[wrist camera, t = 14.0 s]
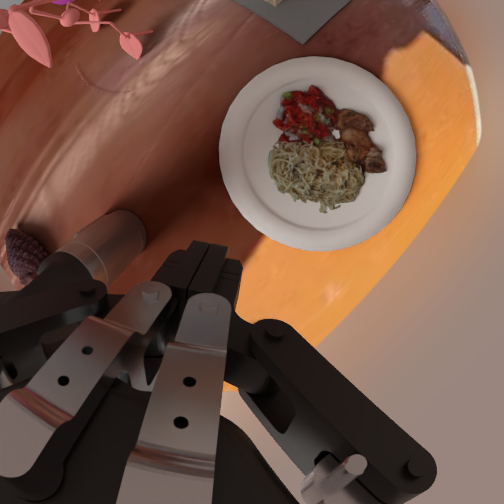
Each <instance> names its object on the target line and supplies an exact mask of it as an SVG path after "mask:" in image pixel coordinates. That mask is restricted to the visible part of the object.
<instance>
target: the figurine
mask: <svg viewBox="0 0 504 504" xmlns="http://www.w3.org/2000/svg"><path fill="white" fill-rule="evenodd" d="M53 1H58V0H33V1H32V2H28V3H24V4H21V5H12V6H11V7H10V8H9V10H5V9H0V30H1V31H5V32H9V33H12V34H13V36H14V38H15V39H16V41H17V42H18V44H19V45H20V47H21V48H22V49H23V50H24V51H25V52H26V53H27V54H28V55H29V56H30V57H32V58H34V59H35V60H37V61H38V62H40V63H42V64H43V65H45V66H47V67H49V68H51V67H52V56H51V51H50V45H49V43H48V41H47V38H46V36H45V34H44V32H43V30H42V29H41V28H40V26H39V25H38V24H37V22H36V21H35V20H34V19H33V18H32V17H30V16H29V15H28V14H27V13H25V12H24V11H23V10H22V9H26V8H29V7H30V10H29V12H31V14H36V15H41V16H47V17H52V18H56V19H60V23H61V24H62V25H63V26H65V27H70V26H72V25H74V24H90V25H91V28H92V32H96V31H99V29H100V25H101V24H110V25H111V26H113V27H114V28H115V29H116V30H117V31H118V32H119V33H120V34H121V35H120V44H121V47H122V48H123V49H124V50H125V52H127V53H128V54H129V55H131V56H132V57H134V58H135V59H137V60H138V58H139V57H140V55H141V53H142V51H143V46H142V43H141V41H140V40H139V39H138V38H137V37H136V36H139V35H144V34H149V33H153V32H154V31H153V30H149V31H144V32H138V33H131V32H128V31H127V32H125V31H124V32H122V31H121V30H120V29H119V28H118V27H117V26H116V25H115V24H114V23H113V22H106V21H100V16H99V15H101V14H107V13H113V12H119V11H121V10H122V9H115V10H108V11H103V12H98V11H97V10H96V9H92V10H91V11H88V10H86V9H84V8H82V7H80V6H78V5H76V4H74V3H72V2H69V1H68V3H67V7H66V11H65V12H63V14H62V15H61V16H57V15H54V14H50V13H46V12H42V11H38V10H34V6H36V5H40V4H44V3H49V2H53ZM99 1H100V0H99ZM69 4H70V5H72V6H74V7H76V8H79V9H81V10H83V11H85V12H87V13H89V20H90V21H78V20H79V17H80V13H79V11H78V10H77V9H73V8H71V9H69ZM77 21H78V22H77ZM76 67H77V66H76ZM77 70H78V69H77ZM78 73H79V72H78ZM80 76H81V75H80ZM81 78H82V77H81ZM85 83H86V82H85ZM86 84H87V83H86ZM87 85H88V84H87ZM85 87H86V86H85ZM90 87H91V86H90ZM95 90H96V89H95ZM97 91H98V90H97ZM128 92H129V91H128ZM124 93H125V92H124Z"/></svg>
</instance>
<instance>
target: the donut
mask: <svg viewBox="0 0 504 504" xmlns="http://www.w3.org/2000/svg"><path fill="white" fill-rule="evenodd" d="M68 1H69V2H73V1H75V0H58V1H53V2H52V3H55V4H60V5H63V4H67V3H68Z"/></svg>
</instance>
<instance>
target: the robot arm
mask: <svg viewBox="0 0 504 504" xmlns="http://www.w3.org/2000/svg"><path fill="white" fill-rule="evenodd" d="M146 240H147V236H146V231H145V227H144V225H143V223H142V222H141V220H140V219H139V218H138V217H137V216H136V215H135V214H133V213H132V212H130V211H127V210H116V211H113V212H111V213H110V214H108V215H105V214H104V215H102V216H101V217H99V218H98V219H96V220H95V221H93V222H92V223H90V224H89V225H87V226H86V227H84V228H83V229H81V230H80V231H78V232H77V233H75V235H74V238H73V239H71V240H70V241H69V242H67V243H66V244H65V245H63V246H62V247H61V248H59V249H58V250H56V251H55V252H54V253H52V254H51V255H50V256H48V257H47V258H46V259H45V260H44V261H43V262H42V263H41V264H40V266H39V268H38V273H37V277H35V278H34V279H33V280H32V281H31V282H30V283H29V284H28V285H26V286H25V287H24V288H23V289H21V290H20V291H8V292H0V504H299V502H298V501H297V500H296V499H295V498H294V496H293V495H292V494H291V493H290V491H288V489H287V488H286V486H285V485H284V484H283V483H282V481H281V480H280V479H279V477H278V476H277V475H276V474H275V472H274V471H273V470H272V468H271V467H270V466H269V464H268V463H267V462H266V460H265V459H264V457H263V456H262V455H261V453H260V452H259V450H258V449H257V448H256V446H255V445H254V443H253V442H252V441H251V439H250V438H249V437H248V436H247V435H246V433H245V432H244V431H243V430H242V429H240V428H239V427H238V426H237V425H235V424H234V423H233V422H231V421H230V420H228V419H227V418H225V417H223V416H221V415H220V408H221V398H222V390H223V381H225V382H227V383H229V384H232V385H234V386H236V387H238V391H239V394H240V396H241V397H242V399H243V400H244V401H245V402H246V404H247V405H248V407H249V408H250V409H251V411H252V412H253V413H254V415H255V416H256V417H257V418H258V420H259V421H260V422H261V424H262V425H263V426H264V427H265V428H266V430H267V431H268V432H269V433H270V435H271V436H272V437H273V438H274V440H275V441H276V442H277V443H278V445H279V446H280V447H281V448H282V449H283V451H284V452H285V453H286V454H287V455H288V457H289V458H290V459H291V460H292V461H293V462H294V464H295V465H296V466H297V467H298V468H299V469H300V470H301V471H302V473H303V474H304V475H305V477H304V479H303V481H302V483H301V495H302V498H303V499H304V501H305V502H306V504H403V503H405V502H407V501H409V500H411V499H412V498H414V497H416V496H418V495H419V494H421V493H423V492H424V491H426V490H427V489H429V488H430V487H431V486H432V484H433V483H434V481H435V478H436V475H437V467H436V463H435V460H434V458H433V457H432V455H431V454H430V453H429V452H428V451H427V450H425V449H424V448H423V447H422V446H421V445H420V444H419V443H417V442H416V441H415V440H414V439H413V438H412V437H410V436H409V435H408V434H407V433H406V432H405V431H404V430H403V429H402V428H400V427H399V426H398V425H397V424H396V423H395V422H394V421H393V420H391V419H390V418H389V417H388V416H387V415H386V414H385V413H384V412H382V411H381V410H380V409H379V408H378V407H377V406H376V405H375V404H374V403H373V402H372V401H370V400H369V399H368V398H367V397H366V396H365V395H364V394H363V393H362V392H361V391H359V390H358V389H357V388H356V387H355V386H354V385H353V384H352V383H351V382H350V381H349V380H348V379H347V378H345V377H344V376H343V375H342V374H341V373H340V372H339V371H338V370H337V369H336V368H335V367H334V366H332V364H330V363H329V362H328V361H327V360H326V359H325V358H324V357H323V356H322V355H321V354H320V353H319V352H318V351H317V350H316V349H315V348H314V347H313V346H311V345H310V344H309V343H308V342H307V341H306V340H305V339H304V338H303V337H302V336H301V335H300V334H299V333H298V332H297V331H296V330H295V329H294V328H293V327H291V326H290V325H289V324H287V323H285V322H283V321H280V320H276V319H263V320H260V321H258V322H256V323H255V324H254V325H253V324H251V323H248V322H246V321H245V320H243V319H241V318H240V317H239V316H238V315H237V314H236V312H235V309H236V304H237V300H238V295H239V289H240V282H241V276H242V270H243V267H242V265H241V263H240V261H239V260H234V259H228V256H229V247H228V246H222V245H217V244H211V243H206V242H200V241H195V240H193V242H192V243H191V244H190V246H189V247H188V249H187V250H180V249H179V250H177V251H175V252H173V253H171V254H170V255H169V256H168V258H167V259H166V261H165V262H164V263H163V264H162V267H160V268H159V270H158V271H157V272H156V274H155V275H154V276H153V278H152V279H151V281H145V282H141V283H138V284H136V285H135V286H133V287H132V288H131V289H130V290H129V292H128V293H127V294H126V295H118V294H108V292H107V289H108V288H109V287H110V286H111V285H112V283H113V282H114V281H115V280H116V279H117V278H118V277H119V276H120V274H121V273H122V272H123V271H124V270H125V269H126V268H127V267H128V266H129V265H130V264H131V262H132V261H133V260H134V259H135V258H136V257H137V256H138V255H139V254H140V253H141V252H142V251H143V249H144V248H145V245H146Z"/></svg>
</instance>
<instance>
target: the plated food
mask: <svg viewBox="0 0 504 504" xmlns="http://www.w3.org/2000/svg"><path fill="white" fill-rule="evenodd" d="M416 156H417V155H416V145H415V137H414V133H413V130H412V127H411V124H410V121H409V118H408V116H407V114H406V112H405V110H404V109H403V107H402V105H401V103H400V101H399V100H398V99H397V98H396V96H395V95H394V94H393V93H392V92H391V90H390V89H389V88H388V87H387V86H386V85H385V84H384V83H383V82H381V81H380V80H379V79H378V78H377V77H375V76H374V75H373V74H372V73H370V72H368V71H366V70H364V69H362V68H360V67H359V66H357V65H355V64H352V63H349V62H346V61H342V60H339V59H335V58H329V57H317V56H311V57H302V58H295V59H290V60H287V61H284V62H282V63H279V64H276V65H273V66H271V67H270V68H268V69H266V70H265V71H263V72H262V73H260V74H258V75H257V76H255V77H254V78H253V79H252V80H251V81H250V82H249V83H248V84H247V85H246V86H245V87H244V88H243V89H242V90H241V91H240V92H239V94H238V95H237V97H236V98H235V100H234V101H233V103H232V104H231V106H230V107H229V110H228V112H227V115H226V117H225V120H224V122H223V125H222V130H221V136H220V142H219V161H220V168H221V172H222V176H223V181H224V184H225V186H226V188H227V191H228V193H229V195H230V197H231V199H232V201H233V203H234V204H235V205H236V207H237V208H238V210H239V211H240V212H241V214H242V215H243V217H244V218H246V219H247V220H248V221H249V222H250V223H251V224H252V225H253V226H254V227H255V228H256V229H257V230H259V231H260V232H262V233H263V234H265V235H266V236H268V237H269V238H271V239H272V240H275V241H277V242H279V243H282V244H284V245H287V246H289V247H293V248H297V249H302V250H307V251H332V250H338V249H345V248H347V247H350V246H353V245H356V244H359V243H362V242H363V241H365V240H367V239H368V238H370V237H372V236H374V235H375V234H377V233H378V232H379V231H380V230H382V229H383V228H384V227H385V226H386V225H387V224H389V223H390V222H391V221H392V219H393V218H394V217H395V215H396V214H397V213H398V212H399V210H400V209H401V208H402V206H403V204H404V202H405V200H406V198H407V196H408V194H409V192H410V189H411V186H412V183H413V179H414V176H415V168H416Z"/></svg>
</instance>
